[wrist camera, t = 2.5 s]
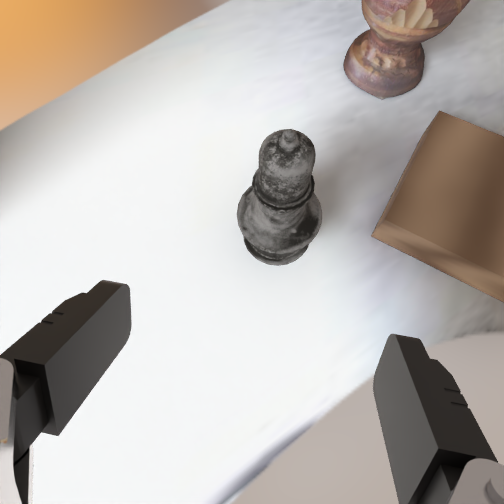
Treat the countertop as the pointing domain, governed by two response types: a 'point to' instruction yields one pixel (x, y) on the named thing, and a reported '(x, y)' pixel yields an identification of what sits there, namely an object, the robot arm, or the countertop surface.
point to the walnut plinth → (452, 204)
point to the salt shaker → (281, 200)
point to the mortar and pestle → (396, 43)
